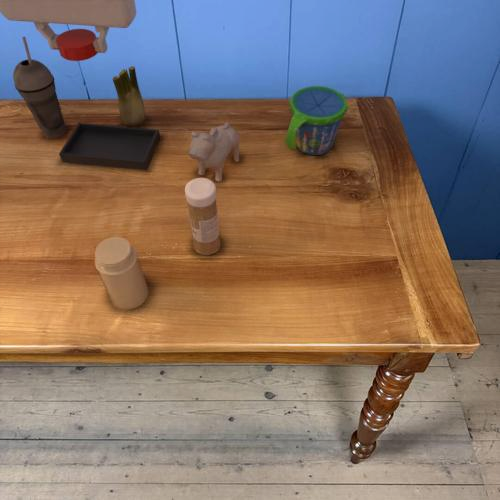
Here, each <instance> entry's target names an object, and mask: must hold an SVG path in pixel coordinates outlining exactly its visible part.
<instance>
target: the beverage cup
mask: <svg viewBox="0 0 500 500" xmlns="http://www.w3.org/2000/svg"><path fill="white" fill-rule="evenodd" d="M21 37H22V38H21V39H22V41H23V42H22V43H23V46H24V50H25V53H26V57H27V59H24V60H21V61H19V63H17V65H16V66H15V68H14V69H13V74H12V79H13V82H14V87H15V90H17V92H18V94H19V95H20V97H21V98H23V100H24V102H25V104H26V105H27V108H28V110H29V111H30V113H31V115H32V117H33V118H34V120H35V122H36V124H37V126H38V127H39V129H40V131H41V132H42V133H43V136H44V137H45V138H46V139H53V140H54V139H59V138H61V137H63V136H64V135H65V134H66V132H67V128H66V123H65V120H64V116H63V112H62V109H61V106H60V105H61V104H60V102H59V97H58V95H57V91H56V82H55V77H54V75H53V74H52V72H51V70H50V69H49V68H48V67H47V66H46V65H45V64H44V63H43V62H42V61H39V60H37V59H32V57H31V53H30V50H29V46H28V42H27V39H26V36H21Z"/></svg>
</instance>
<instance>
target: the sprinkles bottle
mask: <svg viewBox="0 0 500 500" xmlns="http://www.w3.org/2000/svg"><path fill="white" fill-rule="evenodd" d="M217 194H218V193H217V187H216V184H215V182H214V181H213V180H211V179H209V178H207V177H206V178H205V177H197V178H193V179H191V180H189V181H188V182H187V183H186V185H185V187H184V195H185V200H186V202H187V207H188V212H189V213H188V215H189V221H190V229H191V235H192V239H193V249H194V251H195V252H196V253H197V254H200V255H201V256H210V255H213V254H215V253H217V252H219V250H220V248H221V241H220V234H219V233H220V227H219V226H220V225H219V216H218V215H219V214H218V208H217V197H218V196H217Z"/></svg>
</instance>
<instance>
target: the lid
mask: <svg viewBox="0 0 500 500" xmlns="http://www.w3.org/2000/svg"><path fill="white" fill-rule="evenodd" d="M96 37H97V35H96V33H95V32H94V31H92V30H90V29H87V28H74V29H68V30H65V31H63V32H61V33H60V34H59V36H58V37H57V39H56V43H57V46H58V49H59V50H58V52H59V53H60V54H59V56H60V57H62V59H64V60H66V61H71V62H82V61H86V60H89V59H91V58H94V57H96V56H97V54H98V53H96V52H95V50H94V49H95V48H94V46H93V41H94V40H95V39H96Z"/></svg>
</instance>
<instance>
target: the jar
mask: <svg viewBox="0 0 500 500" xmlns="http://www.w3.org/2000/svg"><path fill="white" fill-rule="evenodd" d="M94 265H95V268H96V271H97V272H98V274H99V276H100V279H101V281H102V283H103V286H104V288H105V290H106V293H107V295H108V297H109V299H110V302H111V303H112V304H113V306H114V307H116V308H117V309H120V310H125V311H126V310H128V311H129V310H133V309H136V308H138V307H140V306H141V305H142V304H144V302H145V301H146V300H147V299H148V296H149V287H148V283H147V280H146V277H145V274H144V271H143V268H142V265H141V262H140V258H139V256H138V251H137V250H136V248H135V247H134V246H133V245H131V243H130V242H129V241H128V240H127V239H126V238H124V237H121V236H110V237H108V238H105V239H103V240H102V241H101V242H99V243H98V244H97V246H96V247H95V251H94Z"/></svg>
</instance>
